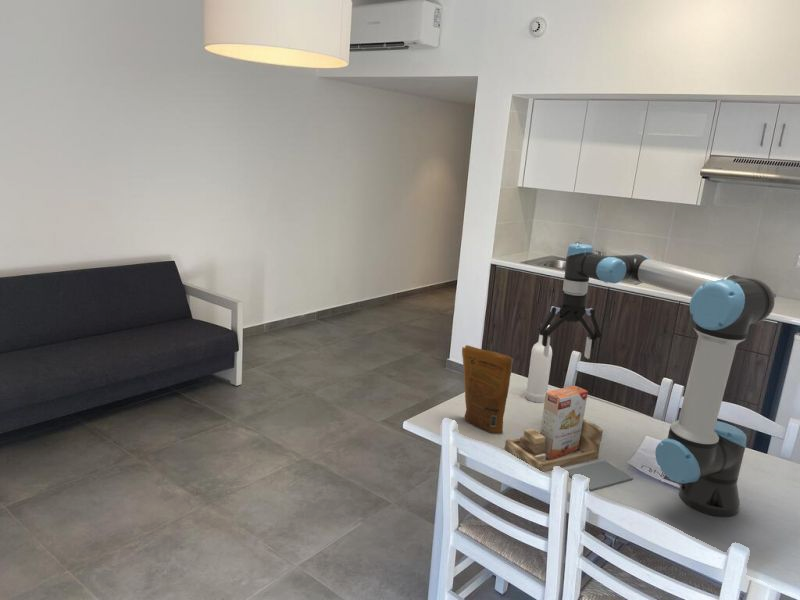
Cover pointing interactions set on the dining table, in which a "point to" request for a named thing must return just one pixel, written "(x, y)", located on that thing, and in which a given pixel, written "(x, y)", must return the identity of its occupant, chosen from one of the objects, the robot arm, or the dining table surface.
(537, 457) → the birch offcut
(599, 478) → the felt mat
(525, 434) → the oak offcut
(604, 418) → the dining table surface
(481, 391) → the pancake mix bag
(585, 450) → the oak rack
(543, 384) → the bottle
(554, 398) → the cracker box
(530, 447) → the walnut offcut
